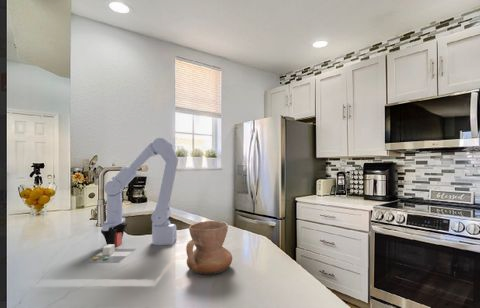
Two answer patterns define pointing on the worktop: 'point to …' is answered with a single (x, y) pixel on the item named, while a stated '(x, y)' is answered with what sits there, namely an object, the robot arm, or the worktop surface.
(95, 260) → the breaker panel
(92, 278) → the worktop surface
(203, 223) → the ceramic jug
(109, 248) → the block
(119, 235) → the block
